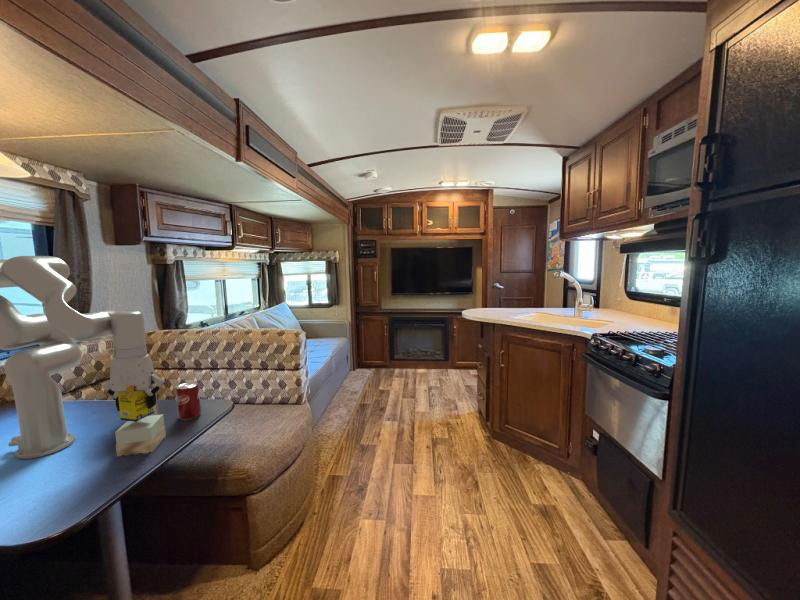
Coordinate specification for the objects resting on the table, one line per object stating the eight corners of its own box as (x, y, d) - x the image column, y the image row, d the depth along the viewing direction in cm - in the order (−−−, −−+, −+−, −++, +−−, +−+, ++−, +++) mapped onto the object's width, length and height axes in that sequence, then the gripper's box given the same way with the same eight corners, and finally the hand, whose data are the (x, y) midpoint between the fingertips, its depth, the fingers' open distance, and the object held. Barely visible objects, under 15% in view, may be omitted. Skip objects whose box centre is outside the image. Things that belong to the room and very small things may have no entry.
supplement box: (136, 422, 97) (132, 387, 96) (120, 420, 99) (116, 385, 97) (154, 413, 103) (151, 379, 102) (139, 411, 104) (135, 378, 103)
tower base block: (117, 457, 97) (115, 444, 97) (134, 441, 106) (133, 429, 105) (151, 453, 99) (150, 441, 98) (166, 437, 108) (164, 426, 107)
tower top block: (116, 444, 96) (115, 432, 96) (132, 429, 105) (130, 418, 105) (152, 440, 99) (150, 427, 98) (164, 425, 108) (163, 414, 107)
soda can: (184, 422, 117) (181, 390, 115) (174, 417, 121) (171, 386, 119) (205, 414, 123) (202, 384, 121) (195, 410, 127) (192, 380, 125)
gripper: (88, 357, 93) (95, 416, 95) (156, 354, 96) (161, 411, 99) (106, 350, 101) (113, 405, 103) (169, 347, 104) (174, 400, 106)
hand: (136, 407), depth 101 cm, fingers closed on supplement box, 7 cm apart
